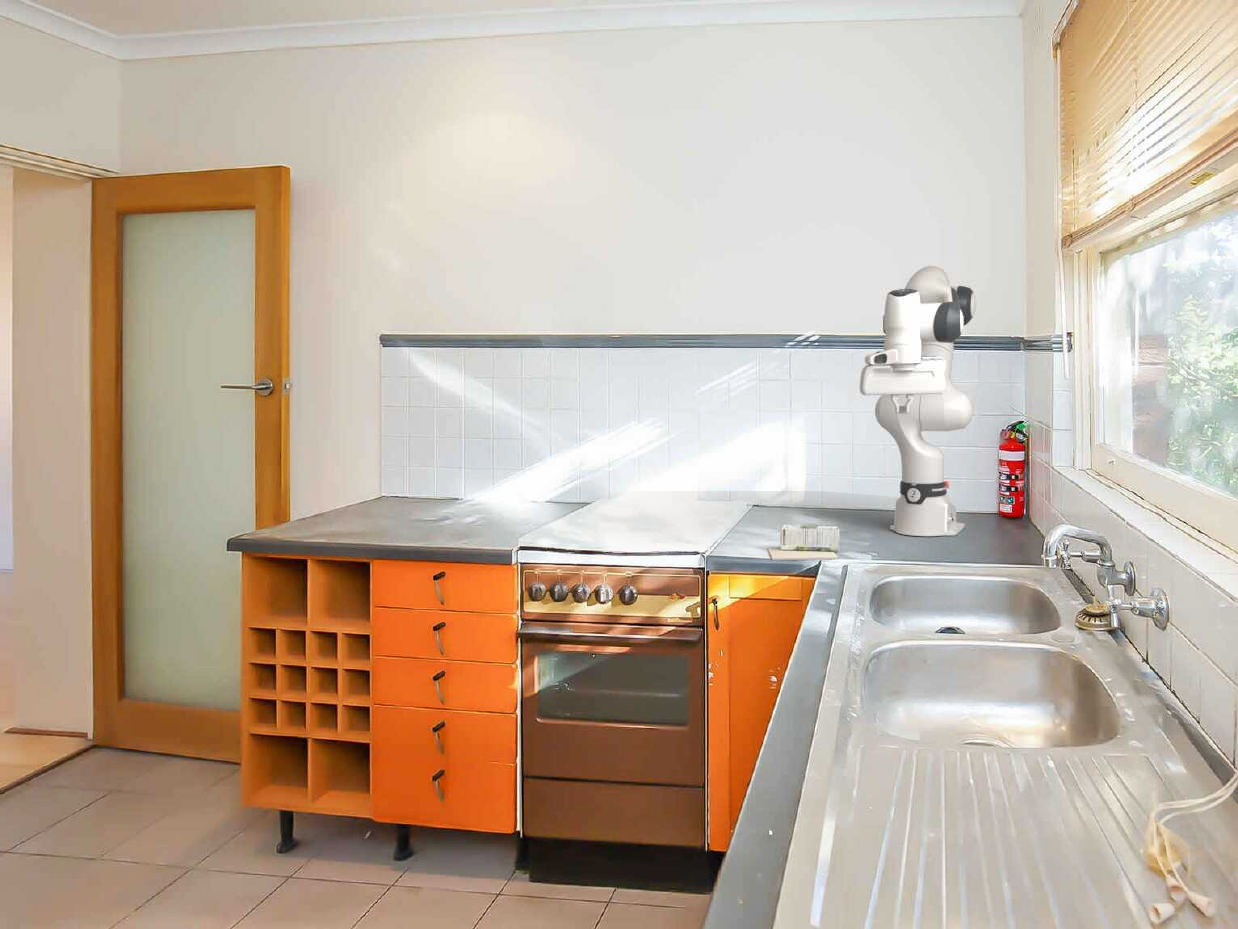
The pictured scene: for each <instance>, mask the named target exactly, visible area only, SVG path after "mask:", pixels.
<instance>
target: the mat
mask: <svg viewBox="0 0 1238 929" xmlns="http://www.w3.org/2000/svg"><path fill="white" fill-rule="evenodd" d="M767 550H768V553H769V556H770V558H771V560H772V561H783V560H784V561H789V560H790V561H792V560H793V561H794V560H795V561H797V560H802V561H803V560H838V559H839V556H838V555H837V554H836V552H835V551H809V550H783V549H781V546H780V547H778V546H776V547H774V546H772V547H770V546H769V547H768V546H767Z"/></svg>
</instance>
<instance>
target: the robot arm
mask: <svg viewBox="0 0 1238 929" xmlns="http://www.w3.org/2000/svg"><path fill="white" fill-rule="evenodd" d="M885 298H886V299H885V305H884V307H885V308H884V314H883V316H882V317H883V318H882V321H883V322H882V325H883V326H882V332H883V334H885V339H884V342H883V350H880V351H879V350H878V351H876V352H874V353H872V354H869V355H866V356H865V357H864V363H865V364H866V365H864V367H862V369H861V373H860V380H859V393H861V395H863V396H880V397H878V399H877V401H876V403H875V406H874V407H875V408H874V415H875V419H876V422H877V423H878V424H879V426H881V427H882V428H883V429H884V430H885V431H886V432H888V434H890V436H892V439H894V441H895V443H896V444H897V445H896V446H898V449H899V454H900V459H901V460H900V461H901V462H900V463H901V481H900V483H899V484H900V485H899V493H900V496H899V498H898V499H897V500H896V501H895V506H894V507H895V508H894V520H893V521H894V522H893V524H892V525H889V530H891V531H893V532H896V533H897V534H901V535H906V536H915V537H937V536H938V537H940V536H942V537H943V536H956V535H958V534H960V532H961V531H962V530H963V529H964V528H965V527H966V526H965V525H966V524H965V523H963V522H960V521H959V522H958V521H957V508H956V507H957V506H955V505H954V503H953V502H952V501H951V500H950V498H949V497H948V496H947V493H948V492H947V489H949V488H950V481H948V480H946V481H945V480H944V476H945V457H944V454H943V452H942V451H941V450H940V448H938V447H937V446H935V445H934V444H932V443H929V442H927V441H925V439H924V438H923V436H922V432H951V431H958V430H963V429H965V428H967V427H968V425H969V424H970V423H971V421H972V419H973V415H974V407H973V402H972V400H971V398H970V397H969V396H968V395H967V394H966V393H964V392H962V391H961V390H959V389H958V388H957V387H956V386H955V385H954V383H953V381H952V367H953V359H954V342H955V341H957V340H958V339H959V338H960V337H961V335H962V333H963V330H964V326H966V325H968V324H969V323H970V322H971V320H972V319H973V317H974V315H975V312H976V309H977V300H976V296H975V294H974V291H973V289H972V288H971V287H967V286H963V285H958V286H951V285H950V280H949V277H948V275H947V273H946V271H945V270H944V269H942V268H941V267H939V266H936V265H928V266H924V267H922V268H920V269H918V270H917V271H916V272H915V273H914V274H913V275H912V276H911V277H910V278H909V279H908V281H907V283H906V285H905V288H900V289H893V290H891V291H889V292H888V293H887V294H886V297H885Z"/></svg>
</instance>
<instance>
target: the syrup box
mask: <svg viewBox="0 0 1238 929" xmlns="http://www.w3.org/2000/svg"><path fill="white" fill-rule="evenodd" d="M779 535H780V538H779V539H780V540H779V541H780V547H781V549H783V550H809V551H834V552H835V553H836V552H839V549H840V526H838V525H809V524H808V525H806V524H804V525H802V524H783V525H782V527H781V528H780V534H779Z"/></svg>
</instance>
